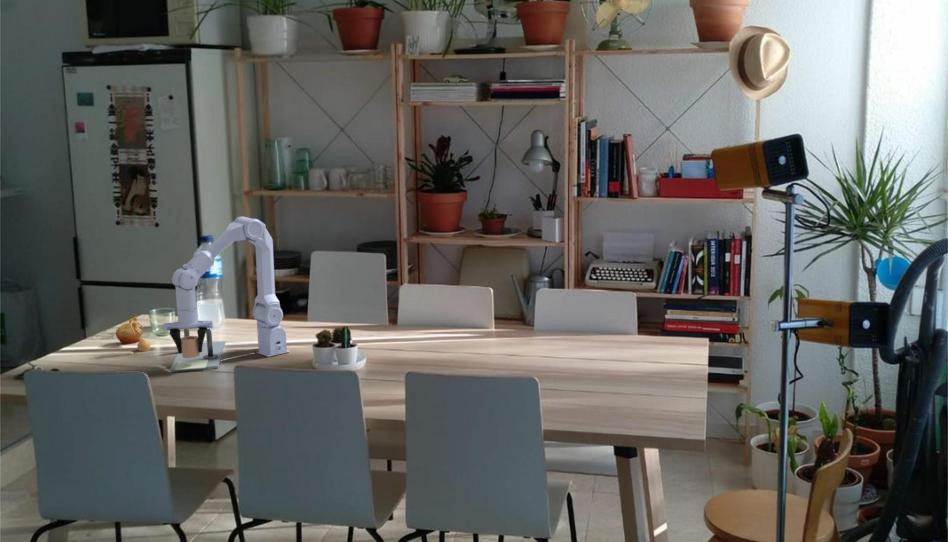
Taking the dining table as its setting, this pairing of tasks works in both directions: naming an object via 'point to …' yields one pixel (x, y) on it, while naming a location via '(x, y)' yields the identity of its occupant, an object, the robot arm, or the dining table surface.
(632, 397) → the dining table surface
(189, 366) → the pad
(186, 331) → the posts
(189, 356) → the octagonal hollow tube
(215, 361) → the board
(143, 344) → the figurine
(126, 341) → the fruit
